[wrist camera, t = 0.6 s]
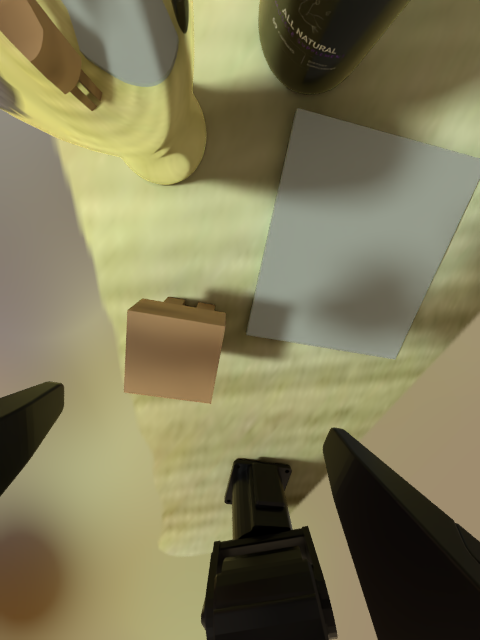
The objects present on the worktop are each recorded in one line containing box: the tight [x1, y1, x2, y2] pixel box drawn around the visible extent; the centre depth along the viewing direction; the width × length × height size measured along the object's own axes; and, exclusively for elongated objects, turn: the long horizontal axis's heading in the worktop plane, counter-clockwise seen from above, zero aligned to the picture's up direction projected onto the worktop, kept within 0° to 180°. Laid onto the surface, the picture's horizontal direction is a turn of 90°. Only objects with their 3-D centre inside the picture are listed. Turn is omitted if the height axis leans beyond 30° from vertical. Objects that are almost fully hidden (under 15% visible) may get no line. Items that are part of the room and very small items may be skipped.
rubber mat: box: [246, 108, 480, 359], centre depth 19 cm, size 16×14×1 cm
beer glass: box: [0, 0, 206, 185], centre depth 9 cm, size 7×7×15 cm
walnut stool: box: [124, 297, 226, 404], centre depth 18 cm, size 6×6×6 cm
